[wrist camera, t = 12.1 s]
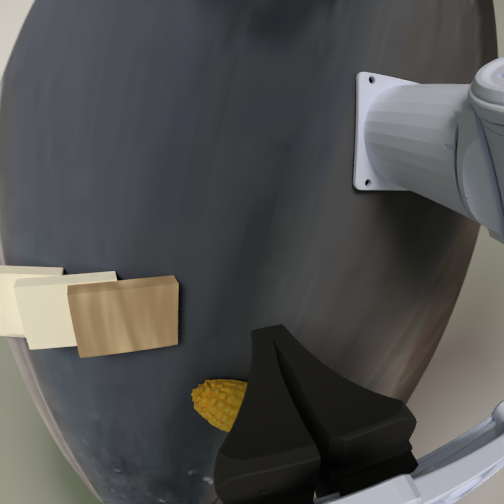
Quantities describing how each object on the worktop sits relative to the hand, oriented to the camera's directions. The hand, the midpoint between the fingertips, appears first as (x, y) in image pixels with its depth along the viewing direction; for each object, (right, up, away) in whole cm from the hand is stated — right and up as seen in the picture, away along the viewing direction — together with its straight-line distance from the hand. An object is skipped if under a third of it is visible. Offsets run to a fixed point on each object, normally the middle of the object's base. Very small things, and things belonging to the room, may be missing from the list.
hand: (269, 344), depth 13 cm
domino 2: (-10, 0, +7) cm, 12 cm away
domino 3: (-6, 0, +8) cm, 10 cm away
